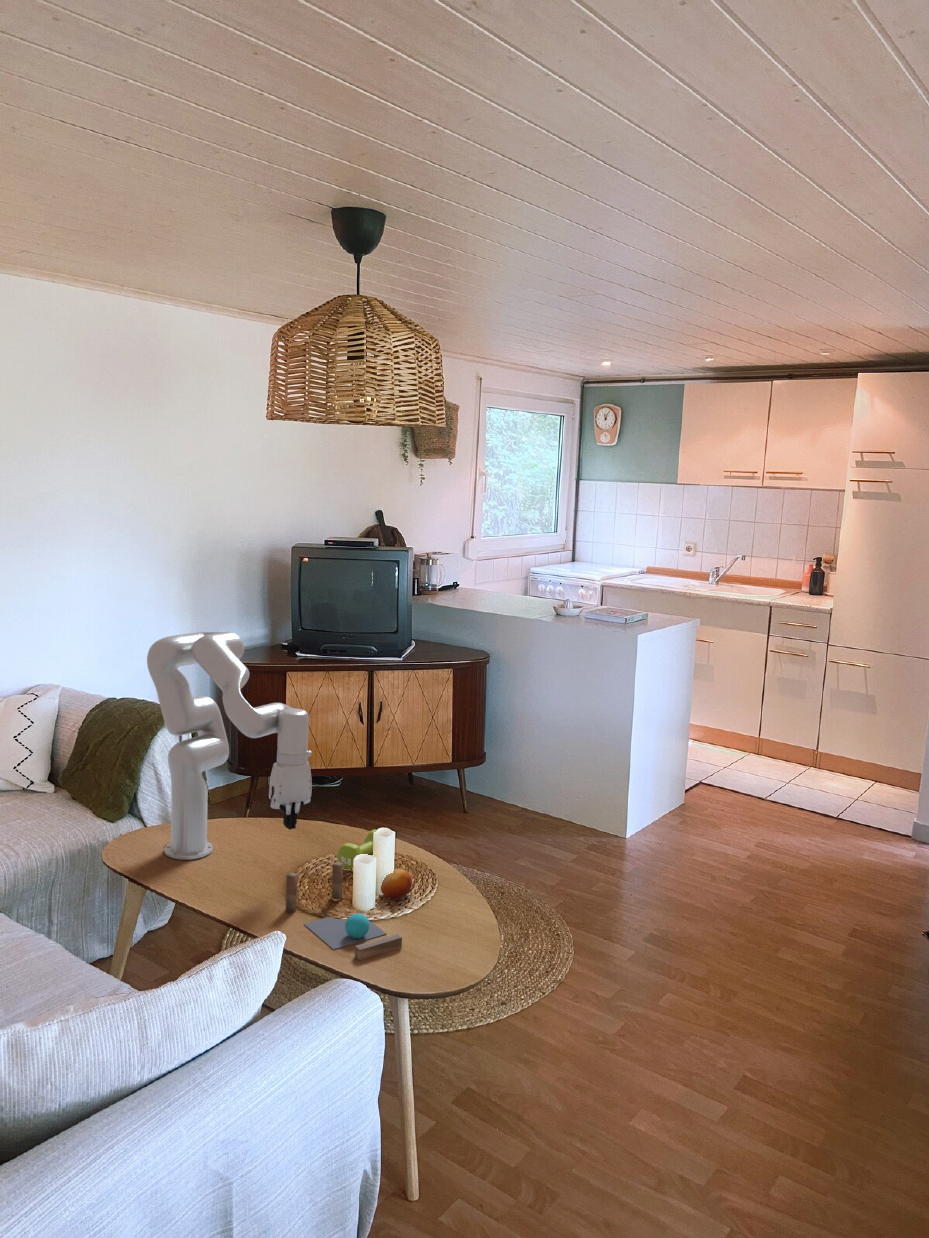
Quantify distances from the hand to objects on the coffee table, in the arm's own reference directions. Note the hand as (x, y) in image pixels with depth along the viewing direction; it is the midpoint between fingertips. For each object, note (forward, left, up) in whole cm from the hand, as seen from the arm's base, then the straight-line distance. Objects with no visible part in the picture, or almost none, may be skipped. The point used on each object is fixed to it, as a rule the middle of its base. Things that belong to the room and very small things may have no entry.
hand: (289, 827), depth 236 cm
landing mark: (+29, 0, -15) cm, 33 cm away
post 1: (+14, -6, -15) cm, 22 cm away
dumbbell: (-2, +24, -15) cm, 29 cm away
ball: (+34, 0, -12) cm, 36 cm away
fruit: (+20, +20, -15) cm, 32 cm away
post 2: (+14, +6, -15) cm, 22 cm away
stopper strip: (+42, +1, -15) cm, 45 cm away
